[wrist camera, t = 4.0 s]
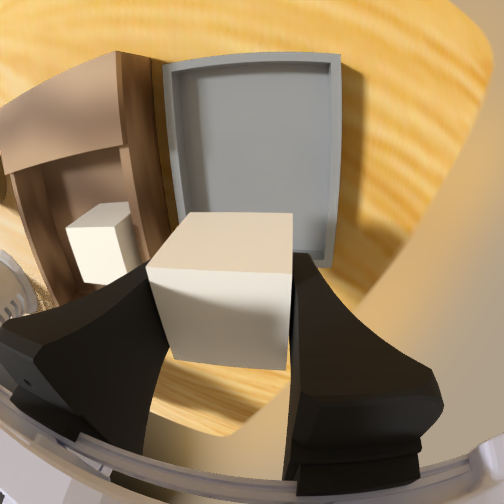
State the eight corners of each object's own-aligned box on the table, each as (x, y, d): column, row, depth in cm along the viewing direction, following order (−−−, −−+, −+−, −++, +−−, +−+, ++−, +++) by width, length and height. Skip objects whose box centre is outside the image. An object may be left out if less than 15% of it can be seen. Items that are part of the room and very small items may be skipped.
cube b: (157, 254, 19) (131, 287, 16) (112, 252, 20) (84, 282, 16) (146, 200, 17) (114, 226, 14) (99, 203, 18) (65, 227, 14)
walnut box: (185, 304, 22) (169, 339, 18) (78, 291, 23) (56, 317, 20) (150, 57, 13) (115, 50, 10) (31, 103, 14) (-5, 111, 11)
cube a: (292, 213, 10) (291, 273, 7) (289, 297, 12) (285, 370, 9) (189, 212, 11) (145, 267, 8) (202, 293, 13) (174, 359, 9)
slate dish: (328, 253, 18) (331, 267, 16) (193, 249, 19) (185, 262, 18) (335, 59, 12) (340, 54, 11) (174, 67, 13) (162, 64, 12)
